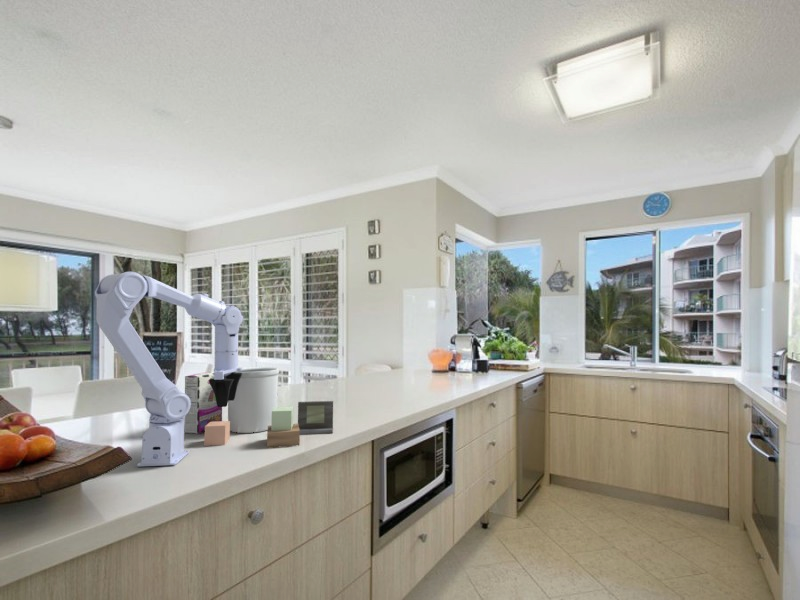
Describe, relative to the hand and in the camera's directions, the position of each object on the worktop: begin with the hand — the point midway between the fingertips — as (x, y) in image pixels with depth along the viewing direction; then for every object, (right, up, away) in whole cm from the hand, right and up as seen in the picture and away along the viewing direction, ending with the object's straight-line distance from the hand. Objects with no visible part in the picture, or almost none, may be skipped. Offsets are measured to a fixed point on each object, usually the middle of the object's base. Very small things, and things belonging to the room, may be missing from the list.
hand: (226, 403), depth 108 cm
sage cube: (+14, -7, +2) cm, 16 cm away
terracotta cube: (-3, -11, +1) cm, 11 cm away
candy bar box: (-13, -11, +14) cm, 22 cm away
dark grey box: (+21, -11, +12) cm, 27 cm away
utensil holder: (+1, -12, +16) cm, 20 cm away
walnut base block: (+15, -11, +1) cm, 18 cm away
